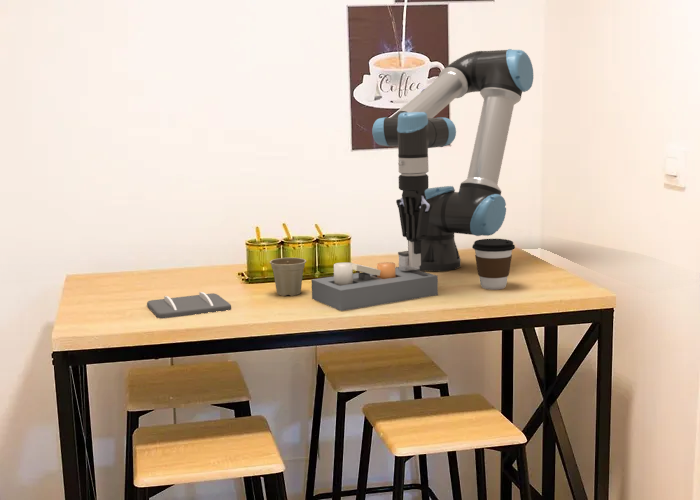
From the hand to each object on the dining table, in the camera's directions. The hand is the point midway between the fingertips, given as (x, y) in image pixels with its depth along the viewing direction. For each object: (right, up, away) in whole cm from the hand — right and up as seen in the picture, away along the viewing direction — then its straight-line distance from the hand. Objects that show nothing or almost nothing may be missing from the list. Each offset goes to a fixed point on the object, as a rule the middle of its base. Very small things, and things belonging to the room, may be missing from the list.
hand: (414, 265), depth 236 cm
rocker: (-13, -1, -7) cm, 15 cm away
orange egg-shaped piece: (-7, -5, -3) cm, 10 cm away
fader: (-1, -1, +2) cm, 3 cm away
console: (-10, -8, -4) cm, 14 cm away
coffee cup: (+21, -6, +4) cm, 22 cm away
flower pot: (-32, -8, +2) cm, 33 cm away
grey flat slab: (-56, -11, -10) cm, 58 cm away
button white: (-18, -5, -9) cm, 21 cm away
